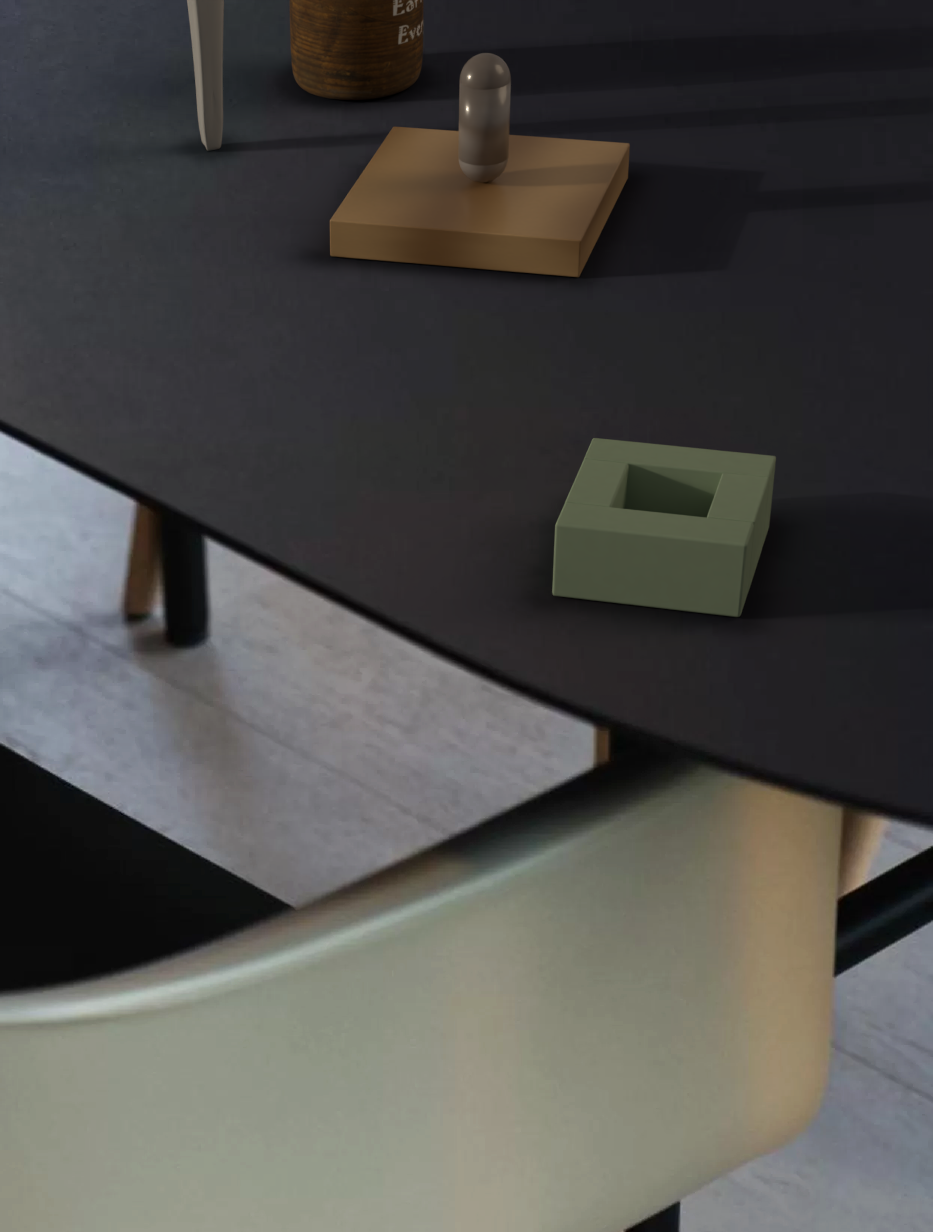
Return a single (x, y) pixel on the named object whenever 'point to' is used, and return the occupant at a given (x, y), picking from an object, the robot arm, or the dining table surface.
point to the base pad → (482, 191)
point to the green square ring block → (663, 527)
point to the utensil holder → (356, 46)
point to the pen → (208, 67)
